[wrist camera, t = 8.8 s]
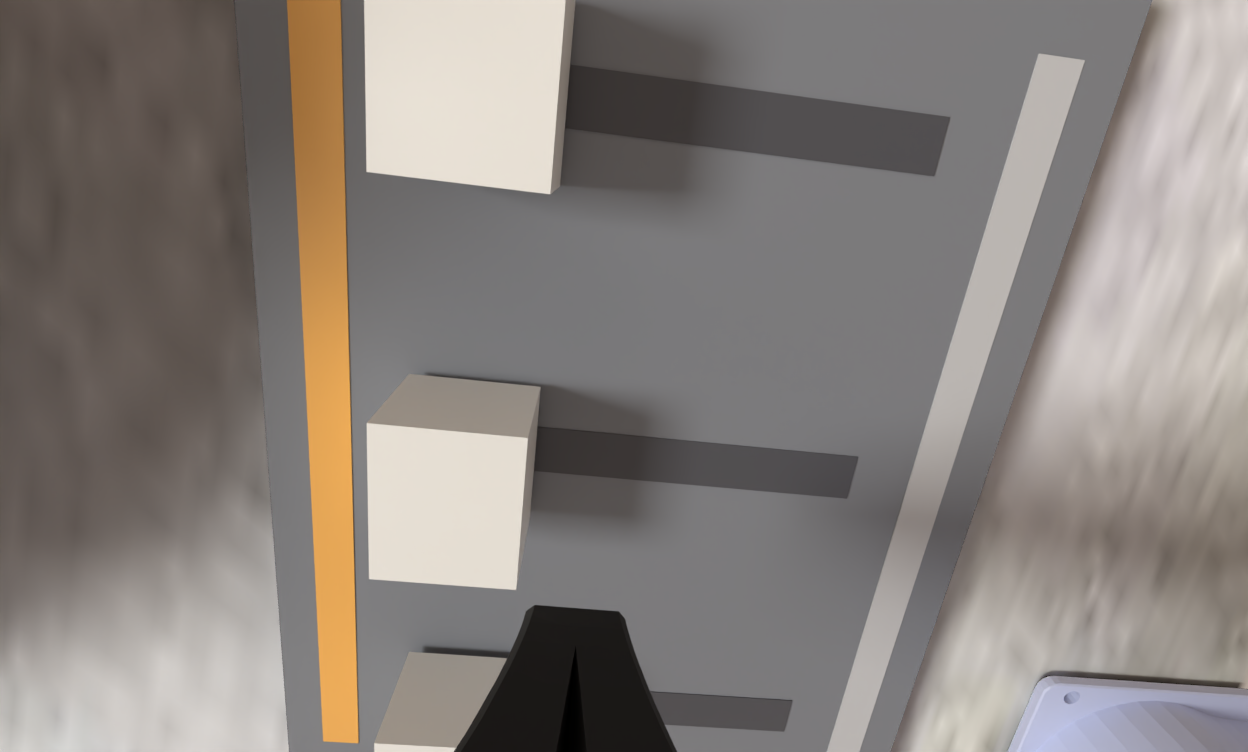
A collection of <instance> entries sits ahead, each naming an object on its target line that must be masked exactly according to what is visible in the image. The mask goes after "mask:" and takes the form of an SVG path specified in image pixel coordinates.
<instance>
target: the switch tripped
mask: <svg viewBox="0 0 1248 752" xmlns="http://www.w3.org/2000/svg"><path fill="white" fill-rule="evenodd" d="M540 389H541V387H538V386H528V385H518V384H508V383H498V382H487V381H477V380H467V379H457V378H447V377H437V376H427V375H417V374H409V375H408V376H407V377H406V378H405V379H404V380H403V382H402V383H401V384H400V385H399V386H398V387H397V389H396V390H395V391H394V392H393V393H392V394H391V395H390V397H389V398H388V399H387V400H386V401H385V402H384V404H383V405H382V406H381V407H380V408H379V409H378V411H377V412H376V413H375V414H374V415H373V416H372V417H371V419H370V420H369V421H368V422H367V482H368V548H369V579H374V580H387V581H401V582H414V583H428V584H441V585H455V586H468V587H482V588H495V589H509V590H516V588H517V583H518V578H519V572H520V567H521V562H522V556H523V551H524V546H525V541H526V535H527V530H528V525H529V519H530V510H531V498H532V486H533V474H534V462H535V450H536V437H537V425H538V413H539V401H540Z"/></svg>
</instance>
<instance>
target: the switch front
mask: <svg viewBox="0 0 1248 752" xmlns="http://www.w3.org/2000/svg"><path fill="white" fill-rule="evenodd" d="M575 1H576V0H364V25H365V100H366V172H371V173H380V174H388V175H396V176H404V177H412V178H421V179H429V180H437V181H445V182H453V183H461V184H470V185H478V186H486V187H494V188H502V189H511V190H519V191H527V192H535V193H543V194H551V193H553V192H554V191H555V190H556V189H557V188H559V187H560V180H561V168H562V156H563V144H564V132H565V120H566V108H567V96H568V84H569V72H570V60H571V48H572V36H573V24H574V12H575Z"/></svg>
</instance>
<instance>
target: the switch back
mask: <svg viewBox="0 0 1248 752" xmlns="http://www.w3.org/2000/svg"><path fill="white" fill-rule="evenodd" d="M506 660H507V658H497V657H482V656H466V655H451V654H436V653H421V652H409V653H408V656H407V658H406V661H405V664H404V666H403V669H402V672H401V674H400V677H399V679H398V682H397V685H396V687H395V690H394V693H393V695H392V698H391V700H390V703H389V706H388V708H387V711H386V714H385V716H384V719H383V721H382V724H381V727H380V729H379V732H378V735H377V737H376V740H375V742H374V752H454V750H455V749H456V747H457V746H458V744H459V743H460V741H461V740H462V738H463V737H464V735H465V733H466V732H467V730H468V728H469V727H470V725H471V723H472V722H473V720H474V718H475V716H476V715H477V713H478V711H479V709H480V708H481V706H482V704H483V702H484V701H485V699H486V697H487V695H488V694H489V692H490V690H491V688H492V687H493V685H494V683H495V681H496V679H497V678H498V676H499V674H500V672H501V670H502V668H503V666H504V664H505V662H506Z"/></svg>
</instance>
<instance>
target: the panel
mask: <svg viewBox="0 0 1248 752" xmlns="http://www.w3.org/2000/svg"><path fill="white" fill-rule="evenodd" d="M1151 3H1152V0H576V1H575V12H574V24H573V36H572V48H571V60H570V72H569V84H568V96H567V108H566V120H565V132H564V144H563V156H562V168H561V180H560V187H559V188H557V189H556V190H555V191H554V192H553V193H551V194H543V193H535V192H527V191H519V190H511V189H502V188H494V187H486V186H478V185H470V184H461V183H453V182H445V181H437V180H429V179H421V178H412V177H404V176H396V175H388V174H380V173H371V172H366V100H365V25H364V0H234V4H235V18H236V32H237V45H238V59H239V73H240V87H241V100H242V114H243V128H244V141H245V155H246V169H247V182H248V196H249V210H250V223H251V237H252V251H253V264H254V278H255V292H256V305H257V319H258V333H259V346H260V360H261V374H262V388H263V401H264V415H265V429H266V442H267V456H268V470H269V483H270V497H271V511H272V524H273V538H274V552H275V565H276V579H277V593H278V606H279V620H280V634H281V647H282V661H283V675H284V688H285V702H286V716H287V730H288V743H289V752H374V742H375V740H376V737H377V735H378V732H379V729H380V727H381V724H382V721H383V719H384V716H385V714H386V711H387V708H388V706H389V703H390V700H391V698H392V695H393V693H394V690H395V687H396V685H397V682H398V679H399V677H400V674H401V672H402V669H403V666H404V664H405V661H406V658H407V656H408V653H409V652H421V653H436V654H451V655H466V656H482V657H497V658H508V656H509V654H510V651H511V649H512V647H513V645H514V643H515V640H516V638H517V636H518V633H519V631H520V628H521V626H522V623H523V620H524V616H525V613H526V611H527V610H528V609H530V608H531V607H532V606H534V605H542V606H555V607H569V608H582V609H595V610H608V611H619V612H620V613H621V615H622V616H623V617H624V618H625V620H626V625H627V628H628V632H629V635H630V639H631V642H632V645H633V648H634V651H635V654H636V657H637V659H638V662H639V665H640V667H641V670H642V673H643V675H644V678H645V680H646V683H647V685H648V688H649V690H650V693H651V695H652V697H653V700H654V702H655V704H656V707H657V709H658V711H659V713H660V716H661V718H662V720H663V722H664V724H665V726H666V729H667V731H668V733H669V735H670V737H671V739H672V742H673V744H674V746H675V748H676V750H677V752H891V749H892V746H893V744H894V741H895V738H896V735H897V732H898V729H899V726H900V723H901V721H902V718H903V715H904V712H905V709H906V706H907V703H908V700H909V698H910V695H911V692H912V689H913V686H914V683H915V680H916V677H917V675H918V672H919V669H920V666H921V663H922V660H923V657H924V655H925V652H926V649H927V646H928V643H929V640H930V637H931V634H932V632H933V629H934V626H935V623H936V620H937V617H938V614H939V611H940V609H941V606H942V603H943V600H944V597H945V594H946V591H947V588H948V586H949V583H950V580H951V577H952V574H953V571H954V568H955V565H956V563H957V560H958V557H959V554H960V551H961V548H962V545H963V543H964V540H965V537H966V534H967V531H968V528H969V525H970V522H971V520H972V517H973V514H974V511H975V508H976V505H977V502H978V499H979V497H980V494H981V491H982V488H983V485H984V482H985V479H986V476H987V474H988V471H989V468H990V465H991V462H992V459H993V456H994V453H995V451H996V448H997V445H998V442H999V439H1000V436H1001V433H1002V430H1003V428H1004V425H1005V422H1006V419H1007V416H1008V413H1009V410H1010V408H1011V405H1012V402H1013V399H1014V396H1015V393H1016V390H1017V387H1018V385H1019V382H1020V379H1021V376H1022V373H1023V370H1024V367H1025V364H1026V362H1027V359H1028V356H1029V353H1030V350H1031V347H1032V344H1033V341H1034V339H1035V336H1036V333H1037V330H1038V327H1039V324H1040V321H1041V318H1042V316H1043V313H1044V310H1045V307H1046V304H1047V301H1048V298H1049V296H1050V293H1051V290H1052V287H1053V284H1054V281H1055V278H1056V275H1057V273H1058V270H1059V267H1060V264H1061V261H1062V258H1063V255H1064V252H1065V250H1066V247H1067V244H1068V241H1069V238H1070V235H1071V232H1072V229H1073V227H1074V224H1075V221H1076V218H1077V215H1078V212H1079V209H1080V206H1081V204H1082V201H1083V198H1084V195H1085V192H1086V189H1087V186H1088V184H1089V181H1090V178H1091V175H1092V172H1093V169H1094V166H1095V163H1096V161H1097V158H1098V155H1099V152H1100V149H1101V146H1102V143H1103V140H1104V138H1105V135H1106V132H1107V129H1108V126H1109V123H1110V120H1111V117H1112V115H1113V112H1114V109H1115V106H1116V103H1117V100H1118V97H1119V94H1120V92H1121V89H1122V86H1123V83H1124V80H1125V77H1126V74H1127V72H1128V69H1129V66H1130V63H1131V60H1132V57H1133V54H1134V51H1135V49H1136V46H1137V43H1138V40H1139V37H1140V34H1141V31H1142V28H1143V26H1144V23H1145V20H1146V17H1147V14H1148V11H1149V8H1150V5H1151ZM409 374H417V375H427V376H437V377H447V378H457V379H467V380H477V381H487V382H498V383H508V384H518V385H528V386H538V387H541V389H540V401H539V413H538V425H537V437H536V450H535V462H534V474H533V486H532V498H531V510H530V519H529V525H528V530H527V535H526V541H525V546H524V551H523V556H522V562H521V567H520V572H519V578H518V583H517V588H516V590H509V589H495V588H482V587H468V586H455V585H441V584H428V583H414V582H401V581H387V580H374V579H369V548H368V482H367V422H368V421H369V420H370V419H371V417H372V416H373V415H374V414H375V413H376V412H377V411H378V409H379V408H380V407H381V406H382V405H383V404H384V402H385V401H386V400H387V399H388V398H389V397H390V395H391V394H392V393H393V392H394V391H395V390H396V389H397V387H398V386H399V385H400V384H401V383H402V382H403V380H404V379H405V378H406V377H407V376H408V375H409Z"/></svg>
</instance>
